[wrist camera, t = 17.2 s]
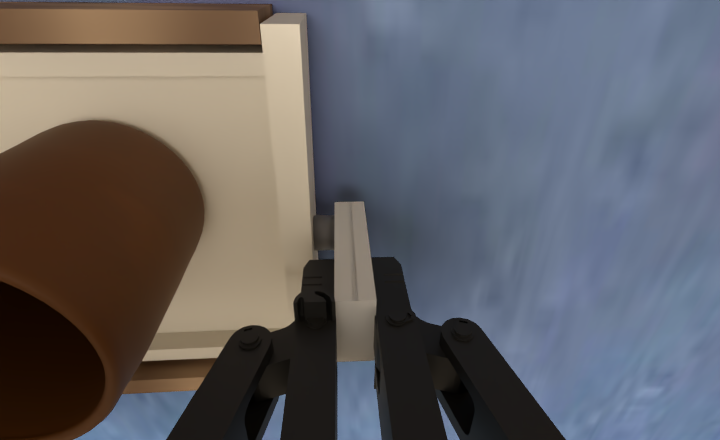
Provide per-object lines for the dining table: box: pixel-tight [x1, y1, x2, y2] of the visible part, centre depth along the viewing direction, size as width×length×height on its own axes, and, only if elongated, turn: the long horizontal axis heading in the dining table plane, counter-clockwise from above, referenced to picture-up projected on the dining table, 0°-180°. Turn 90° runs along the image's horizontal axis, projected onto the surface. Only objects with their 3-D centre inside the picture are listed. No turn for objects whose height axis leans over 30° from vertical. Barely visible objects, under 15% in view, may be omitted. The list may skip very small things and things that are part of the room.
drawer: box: [0, 13, 335, 361], centre depth 19 cm, size 18×18×5 cm
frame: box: [0, 2, 273, 394], centre depth 19 cm, size 17×18×4 cm
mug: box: [0, 120, 205, 440], centre depth 15 cm, size 12×8×9 cm, turn 113°
